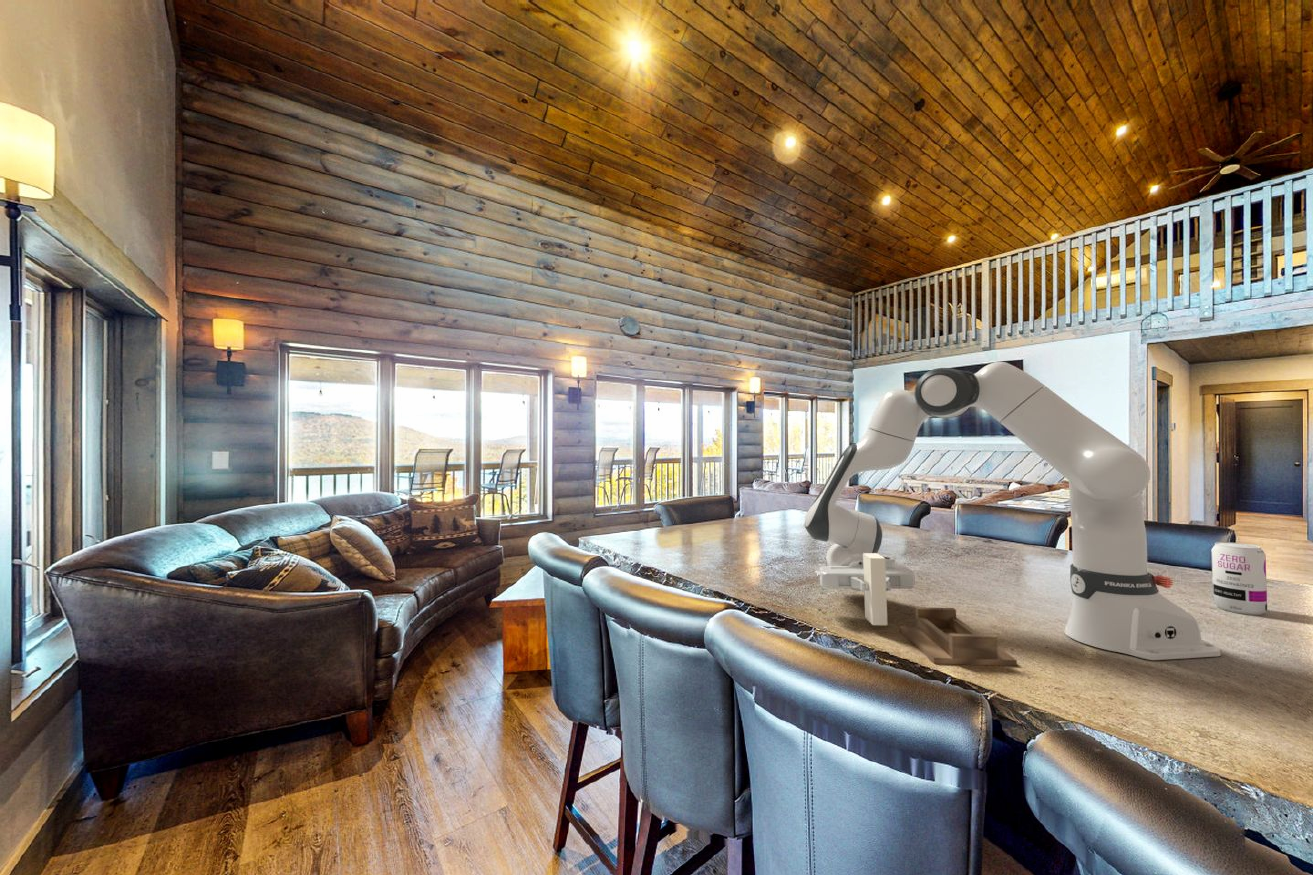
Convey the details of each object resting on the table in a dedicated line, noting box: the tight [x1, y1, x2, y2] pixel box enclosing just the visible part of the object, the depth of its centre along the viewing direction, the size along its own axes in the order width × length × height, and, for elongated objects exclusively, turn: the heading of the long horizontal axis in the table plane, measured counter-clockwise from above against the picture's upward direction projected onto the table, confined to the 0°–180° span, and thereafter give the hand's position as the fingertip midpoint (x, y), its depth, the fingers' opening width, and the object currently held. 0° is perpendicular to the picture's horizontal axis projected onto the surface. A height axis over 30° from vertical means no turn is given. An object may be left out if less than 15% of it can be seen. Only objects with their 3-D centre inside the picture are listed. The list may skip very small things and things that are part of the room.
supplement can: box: [1210, 541, 1268, 616], centre depth 116 cm, size 8×8×15 cm
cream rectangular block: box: [863, 552, 888, 626], centre depth 108 cm, size 3×5×14 cm, turn 174°
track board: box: [899, 606, 1018, 667], centre depth 98 cm, size 14×16×5 cm
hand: (876, 586), depth 107 cm, fingers closed on cream rectangular block, 3 cm apart
